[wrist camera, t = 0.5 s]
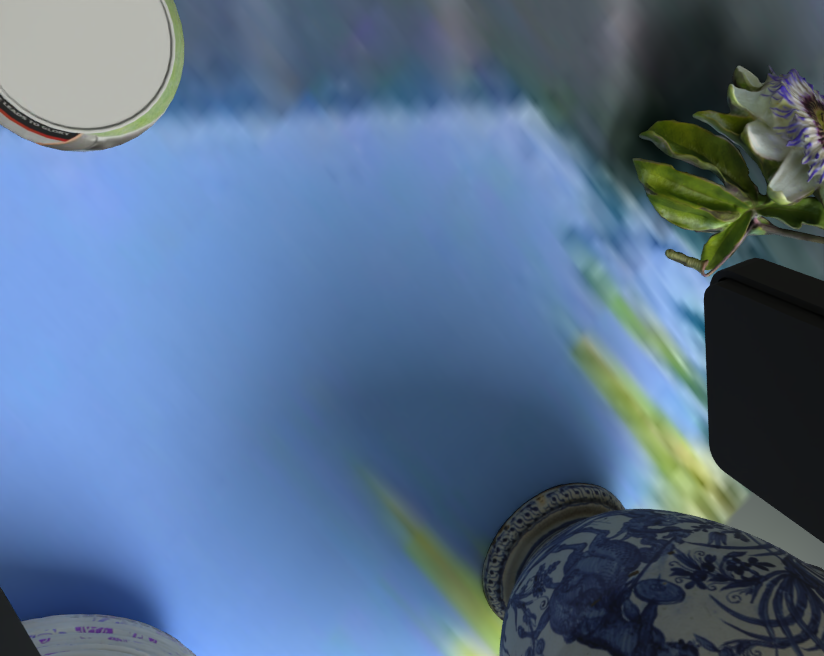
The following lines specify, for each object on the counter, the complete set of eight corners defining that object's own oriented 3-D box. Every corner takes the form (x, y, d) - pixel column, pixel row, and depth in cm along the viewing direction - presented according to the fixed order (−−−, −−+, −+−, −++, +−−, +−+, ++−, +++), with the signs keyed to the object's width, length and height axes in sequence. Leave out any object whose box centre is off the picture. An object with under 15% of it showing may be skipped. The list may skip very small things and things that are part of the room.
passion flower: (686, 91, 47) (917, 93, 41) (659, 268, 49) (878, 295, 42) (634, 43, 38) (925, 35, 32) (602, 265, 39) (875, 299, 33)
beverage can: (-86, 32, 28) (-191, 39, 18) (72, -95, 28) (61, -163, 18) (50, 167, 31) (29, 240, 21) (190, 50, 31) (240, 64, 21)
